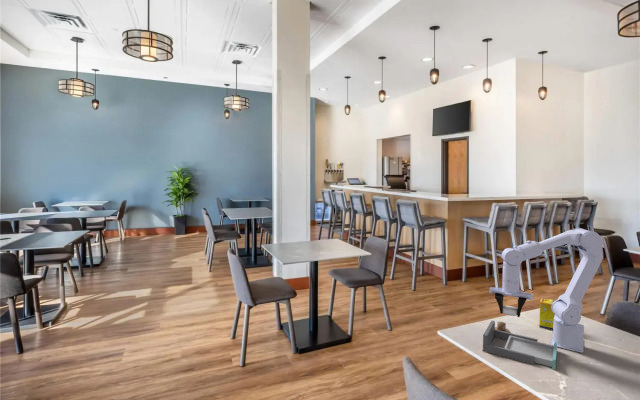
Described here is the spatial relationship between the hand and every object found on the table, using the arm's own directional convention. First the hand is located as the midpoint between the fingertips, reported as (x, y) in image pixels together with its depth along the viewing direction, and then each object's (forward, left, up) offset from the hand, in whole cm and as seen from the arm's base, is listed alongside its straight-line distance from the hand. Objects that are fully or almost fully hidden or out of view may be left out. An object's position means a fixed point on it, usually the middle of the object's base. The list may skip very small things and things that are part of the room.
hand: (510, 314), depth 132 cm
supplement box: (-11, -23, -10) cm, 28 cm away
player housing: (-1, +8, -10) cm, 13 cm away
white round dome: (0, 0, 0) cm, 0 cm away
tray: (-8, +8, -10) cm, 15 cm away
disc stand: (+4, -6, -10) cm, 12 cm away
